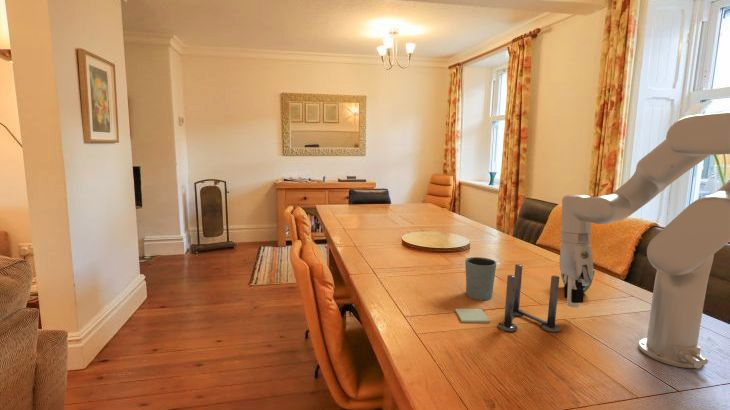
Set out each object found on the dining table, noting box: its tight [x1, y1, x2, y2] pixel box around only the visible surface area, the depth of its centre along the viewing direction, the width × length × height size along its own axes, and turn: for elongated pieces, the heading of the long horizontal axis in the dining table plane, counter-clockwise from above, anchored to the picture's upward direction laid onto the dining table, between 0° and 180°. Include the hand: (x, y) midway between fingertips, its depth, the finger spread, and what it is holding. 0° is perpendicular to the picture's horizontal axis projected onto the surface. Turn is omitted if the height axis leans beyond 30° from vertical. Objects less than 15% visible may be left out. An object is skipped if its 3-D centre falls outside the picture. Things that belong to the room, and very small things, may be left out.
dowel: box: [566, 276, 581, 308], centre depth 112 cm, size 3×3×10 cm
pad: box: [455, 308, 491, 324], centre depth 114 cm, size 8×8×1 cm
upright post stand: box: [497, 263, 562, 334], centre depth 111 cm, size 15×17×15 cm
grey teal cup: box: [464, 256, 498, 301], centre depth 130 cm, size 10×10×12 cm
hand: (573, 299), depth 112 cm, fingers closed on dowel, 3 cm apart
